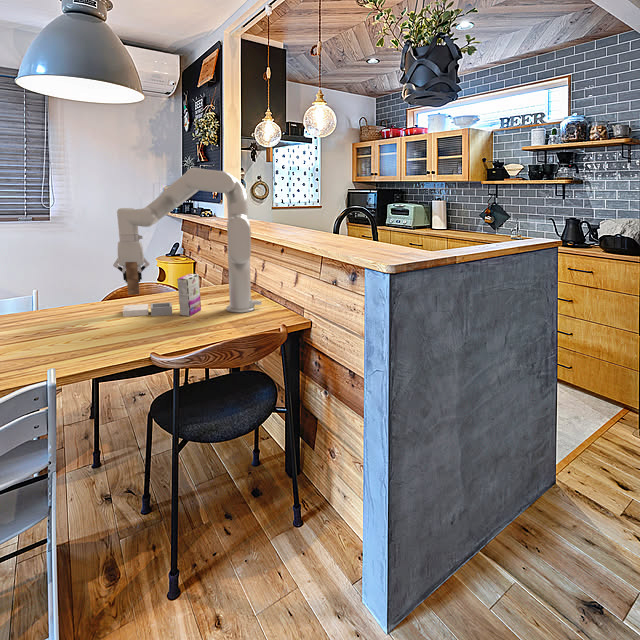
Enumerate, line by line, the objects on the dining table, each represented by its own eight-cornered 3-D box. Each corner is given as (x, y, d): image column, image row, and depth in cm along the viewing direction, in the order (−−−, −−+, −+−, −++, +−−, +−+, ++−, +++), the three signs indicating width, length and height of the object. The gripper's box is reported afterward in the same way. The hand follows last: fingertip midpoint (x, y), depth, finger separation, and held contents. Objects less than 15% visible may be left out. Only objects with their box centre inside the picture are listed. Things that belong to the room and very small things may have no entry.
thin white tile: (148, 309, 209) (148, 304, 209) (148, 315, 200) (147, 309, 200) (124, 310, 206) (123, 305, 206) (123, 316, 197) (122, 311, 196)
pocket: (171, 309, 209) (171, 302, 208) (172, 314, 201) (171, 307, 200) (151, 311, 206) (150, 303, 206) (151, 316, 199) (150, 308, 198)
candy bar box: (191, 309, 211) (189, 273, 206) (201, 310, 210) (199, 274, 205) (179, 315, 200) (176, 278, 196) (190, 316, 199) (187, 278, 195)
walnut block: (139, 292, 204) (137, 260, 200) (139, 294, 200) (136, 261, 196) (128, 292, 202) (125, 260, 198) (128, 294, 198) (125, 262, 194)
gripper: (150, 237, 201) (153, 279, 206) (107, 237, 195) (112, 280, 200) (150, 239, 194) (154, 282, 199) (106, 239, 188) (110, 284, 193)
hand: (133, 281), depth 199 cm, fingers closed on walnut block, 4 cm apart
